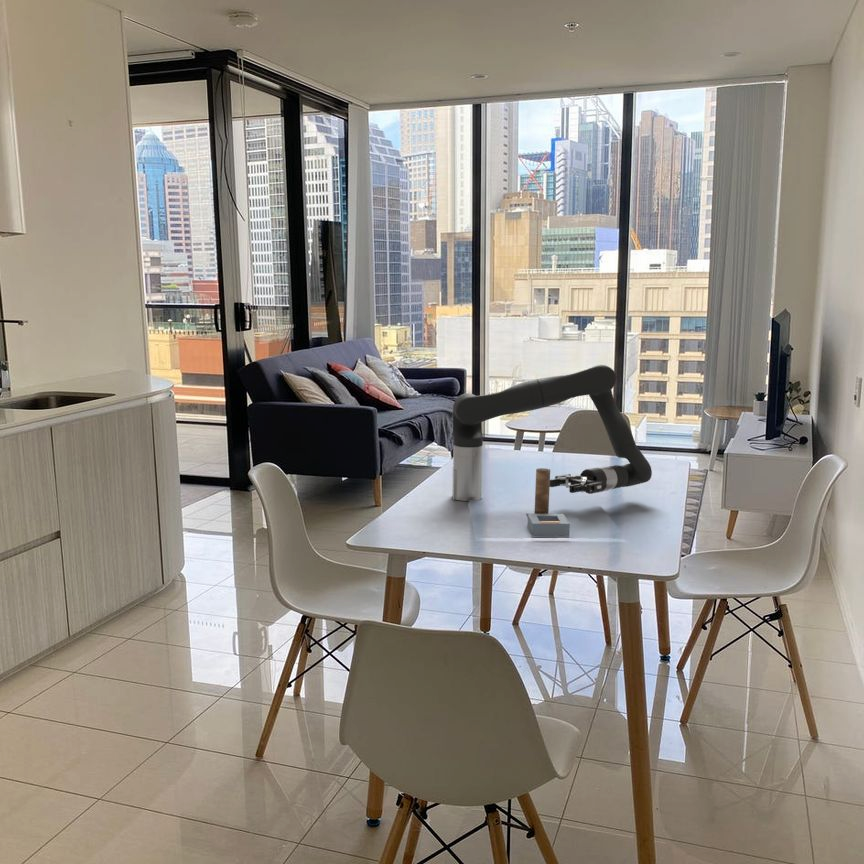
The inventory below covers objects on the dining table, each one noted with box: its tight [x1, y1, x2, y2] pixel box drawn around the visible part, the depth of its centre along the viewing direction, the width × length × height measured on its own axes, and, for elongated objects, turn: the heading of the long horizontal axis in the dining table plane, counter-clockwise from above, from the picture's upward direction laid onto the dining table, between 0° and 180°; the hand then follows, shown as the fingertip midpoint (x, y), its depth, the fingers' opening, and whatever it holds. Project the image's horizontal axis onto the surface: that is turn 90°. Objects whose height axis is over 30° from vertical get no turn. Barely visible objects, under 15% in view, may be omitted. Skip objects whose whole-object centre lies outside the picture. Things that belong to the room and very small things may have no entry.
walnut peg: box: [533, 467, 551, 514], centre depth 248 cm, size 4×4×14 cm
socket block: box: [527, 513, 571, 539], centre depth 236 cm, size 10×10×4 cm
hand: (560, 486), depth 252 cm, fingers open, 8 cm apart
